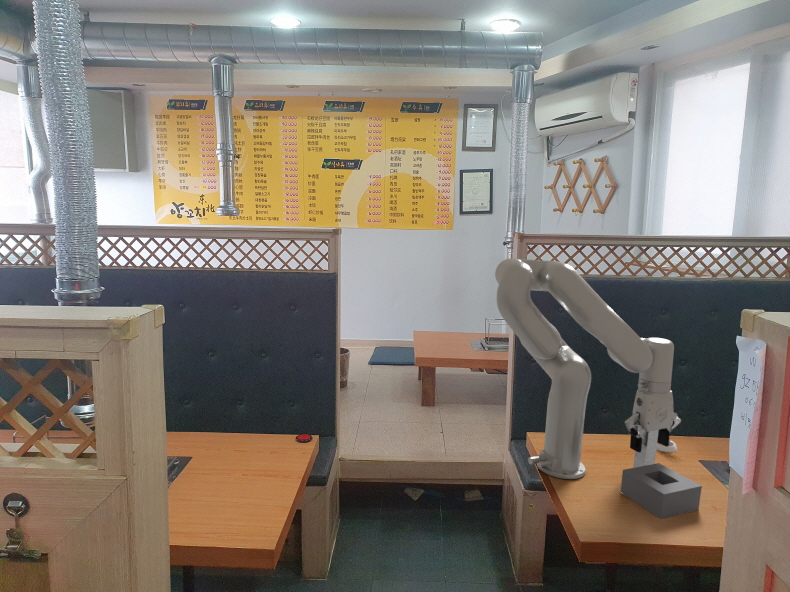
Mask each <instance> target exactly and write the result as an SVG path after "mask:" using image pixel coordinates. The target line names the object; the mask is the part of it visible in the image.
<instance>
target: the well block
mask: <svg viewBox="0 0 790 592" xmlns="http://www.w3.org/2000/svg"><path fill="white" fill-rule="evenodd" d="M620 483H621V485H620V491H619V492H622V493H623V494H624V495H623V494H622V493H621V494H622V495H623V496H625V495H626V496H627V498H628V497H629V498H628V499H630V500H631V499H632V500H631V501H633V502H634V501H635V502H634V503H635V504H637V503H638V505H639V506H640V505H641V506H640V507H642V508H644V509H645V510H647V511H648V512H650V513H651V514H653V515H654V516H655V517H658V518H659V519H660V520H662V519H666V518H670V517H674V516H679V515H682V514H687V513H690V512H691V513H692V512H694V511H696V512H697V511H699V509H700V503H701V494H702V487H703V486H702V485H701V484H699V483H697V482H695V481H694V480H691V479H690V478H688V477H687V476H684V475H682V474H681V473H679V472H677V471H675V470H673V469H671V468H669V467H667V466H665V465H663V464H662V463H660V462H657V463H655V464H651V465H646V466H640V467H635V468H633V467H631V468H626V469H625V468H624V469H622V475H621V482H620ZM626 496H625V497H626Z"/></svg>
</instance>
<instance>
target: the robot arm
mask: <svg viewBox="0 0 790 592" xmlns="http://www.w3.org/2000/svg"><path fill="white" fill-rule="evenodd" d="M494 273H495V274H494V275H495V280H496V282H497V284H498V286H497V291H496V306H497V309H498V311H499V314H500V316H501V318H502V319H503V320H504V321H505V323H506V324H507V325H508V326H509V328H510V329H511V330H512V331H513V333H514V334H515V336H516V337H518V339H519V341H520V343H521V345H522V347H523V348H525V350H526V351H527V352H528V354H530V355H531V357H532V358H533V359H534V360H535V361H536V363H538V365H539V367H541V369H542V370H544V372H545V373H546V374H547V375H548V376H549V378H550V379H551V385H550V390H549V394H548V399H547V405H546V406H547V407H546V408H547V409H546V419H545V420H546V421H545V429H544V430H545V432H544V440H543V441H544V442H543V449H541V450H540V451H539V454H538V455H533V456H529V457H528V458H527V462H528V463H529V465H535V464H536V466H537V468H538V469H539V470H540V471H541V472H542V473H544V474H546V475H549V476H551V477H554V478H558V479H564V480H565V479H566V480H574V479H579V478H580V479H581V478H582V477H583V476H585V475H586V466H585V465H584V464H583V462H581V457H582V455H581V454H582V446H583V436H584V426H585V425H584V424H585V418H586V417H585V416H586V406H587V399H588V395H589V391H590V389H591V383H592V372H591V369H590V367H589V365H588V363H587V362H586V360H585V359H584V358H582V357H581V356H580V355H579V354H578V353H576V352H575V351H574V350H573V349H572V348H571V347H570V346H569V345H568V344H567V343H566V341H565V340H564V339H563V338H562V336H561V334H560V332H559V331H558V330H557V328H556V327H555V326H554V325H553V324H552V323H550V322H549V320H548V319H547V318H546V317H545V316H544V315H543V314H542V312H541V311H540V310H539V308H538V307H537V305H535V303H534V302H533V300H532V297H531V291H536V292H537V291H538V292H548V293H549V294H550V296H551V295H552V297H553V298H554V299H555V300H556V301H557V302H558V303H559V304H560V305H561V307H563V309H564V310H565V311H566V312H567V313H568V314H569V315H570V317H572V319H573V320H574V321H575V322H576V323H577V324H578V325H579V326H580V327H582V329H583V330H585V331H586V332H587V333H589V334H591V335H592V336H593V337H594V338H596V339H597V340H598V341H599V342H600V343H601V344H602V345H603V346H605V348H607V349H606V350H607V354H608V356H609V357H610V358H611V360H613V361H614V362H616V363H617V364H619V365H620V366H621V367H623V368H624V369H625V370H627V371H628V372H631V373H634V374H639V376H638V384H637V387H638V389H637V390H636V393H635V397H634V403H633V408H632V415H631V416H630V417H628V418H627V419H626V420H625V421H624V425H625V427H626V430H627V432H628V434H629V435H630V441H629V442H630V443H629V448H630V449H631V450H633V451H634V452H635V451H637V452H641V448H642V438H641V435H642V434H643V432H644V431H655V430H659V432H658V440H657V444H660V445H664V446H666V447H667V446H670V445H669V437H670V435H671V432H672V431H673V429H672V426H673V425H674V424H675V420H676V417H678V413H676V412H674V395H673V391H672V390H671V386H672V375H673V364H674V351H675V345H674V344H675V343H673V341H671V340H669V339H667V338H662V337H661V338H660V337H648V338H645V337H644V338H643V337H640V335H638V334H637V333H636V332H635V331H634V329H632V328H631V326H630V325H628V323H626V321H624V319H622V318H621V317H620V316H619V315H618V314H617V313H616V312H615V311H614V309H613V308H612V307H610V305H608V303H606V301H605V300H603V298H601V296H600V295H599V294H598V293H597V292H596V291H595V290H594V289H593V288H592V287H591V285H590V284H589V283H588V282H587V281H586V280H585V279H584V277H583V276H581V274H580V273H579V272H578V271H577V270H576V269H575V268H574V267H573V266H572V265H569V264H568V263H564V262H561V261H557V260H538V259H528V258H526V259H525V258H515V257H511V258H506V259H503V260H502V261H500V263H498V265H497V266H496V268H495V272H494ZM638 428H639V431H638ZM637 431H638V432H637Z"/></svg>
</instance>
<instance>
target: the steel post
mask: <svg viewBox="0 0 790 592" xmlns="http://www.w3.org/2000/svg"><path fill="white" fill-rule="evenodd" d="M636 431H637V432H638V431H639V428H637V430H636ZM658 432H659V430H655V431H644V432H643V434H642V435H641V438H642V448H641V452H637V451H635V450H634V460H633V466H632V468H635V467H640V466H646V465H651V464H656V463H655V462H656V457H657V456H656V455H657V450H656V448H657V444H658V442H657V440H658Z"/></svg>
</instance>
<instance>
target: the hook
mask: <svg viewBox="0 0 790 592" xmlns="http://www.w3.org/2000/svg"><path fill="white" fill-rule="evenodd" d="M681 422H682V420H681V418H679V416H677V417H676V420H675V424H674V425H673V426H672V430H673V429H675V428H676V427H677V426H678V425H680V424H681ZM656 451H660V452H663V453H675V452H676V453H677V451H678V447H677V444H676V442H675V441H673V440H671V438H670V436H669V446H667V447H666V446H664V445H662V444H660V443H657V448H656Z"/></svg>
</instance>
